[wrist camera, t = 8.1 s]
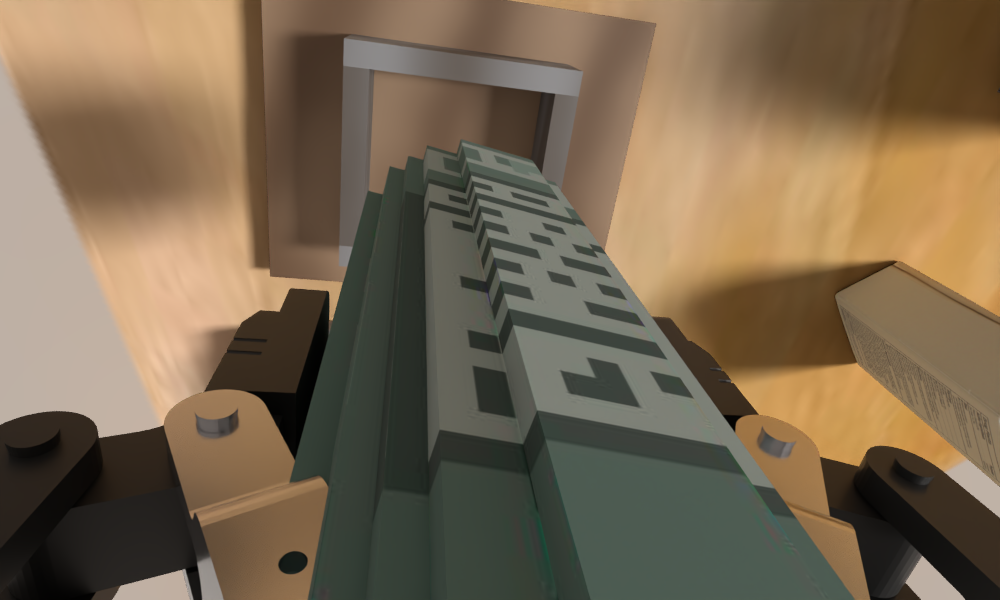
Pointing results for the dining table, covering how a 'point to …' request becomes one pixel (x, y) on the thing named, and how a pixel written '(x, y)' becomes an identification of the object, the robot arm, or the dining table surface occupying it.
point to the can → (523, 417)
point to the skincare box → (931, 356)
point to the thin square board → (435, 106)
